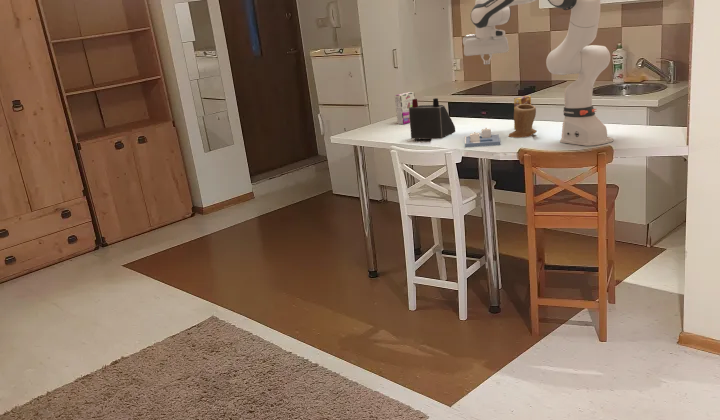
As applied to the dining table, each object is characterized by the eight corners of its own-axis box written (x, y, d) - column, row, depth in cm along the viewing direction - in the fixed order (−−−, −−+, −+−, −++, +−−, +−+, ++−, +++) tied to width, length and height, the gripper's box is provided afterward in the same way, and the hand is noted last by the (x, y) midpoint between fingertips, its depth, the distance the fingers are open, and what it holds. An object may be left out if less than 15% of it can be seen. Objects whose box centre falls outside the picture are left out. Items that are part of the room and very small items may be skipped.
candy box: (521, 130, 316) (520, 98, 312) (514, 129, 319) (513, 98, 315) (532, 127, 322) (531, 95, 317) (524, 126, 325) (523, 95, 320)
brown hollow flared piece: (530, 141, 291) (529, 107, 287) (505, 140, 298) (504, 107, 294) (543, 134, 302) (542, 101, 298) (519, 133, 309) (518, 101, 305)
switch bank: (498, 140, 298) (498, 133, 297) (500, 148, 283) (500, 141, 282) (465, 143, 300) (464, 136, 299) (465, 150, 285) (464, 143, 284)
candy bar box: (410, 120, 376) (408, 91, 371) (417, 121, 372) (414, 92, 367) (396, 124, 369) (394, 94, 364) (403, 124, 365) (400, 95, 360)
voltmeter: (455, 134, 323) (453, 93, 317) (442, 141, 309) (439, 99, 304) (425, 134, 331) (423, 94, 325) (411, 141, 318) (408, 99, 312)
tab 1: (479, 143, 289) (479, 131, 287) (479, 144, 286) (479, 132, 285) (470, 143, 289) (469, 132, 288) (470, 145, 287) (469, 133, 285)
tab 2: (491, 138, 295) (490, 127, 294) (491, 139, 293) (490, 128, 291) (482, 139, 296) (481, 128, 295) (482, 140, 293) (481, 129, 292)
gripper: (462, 35, 297) (463, 66, 301) (508, 31, 294) (509, 62, 298) (462, 35, 303) (463, 65, 307) (507, 30, 300) (508, 61, 304)
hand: (486, 64), depth 302 cm, fingers closed
